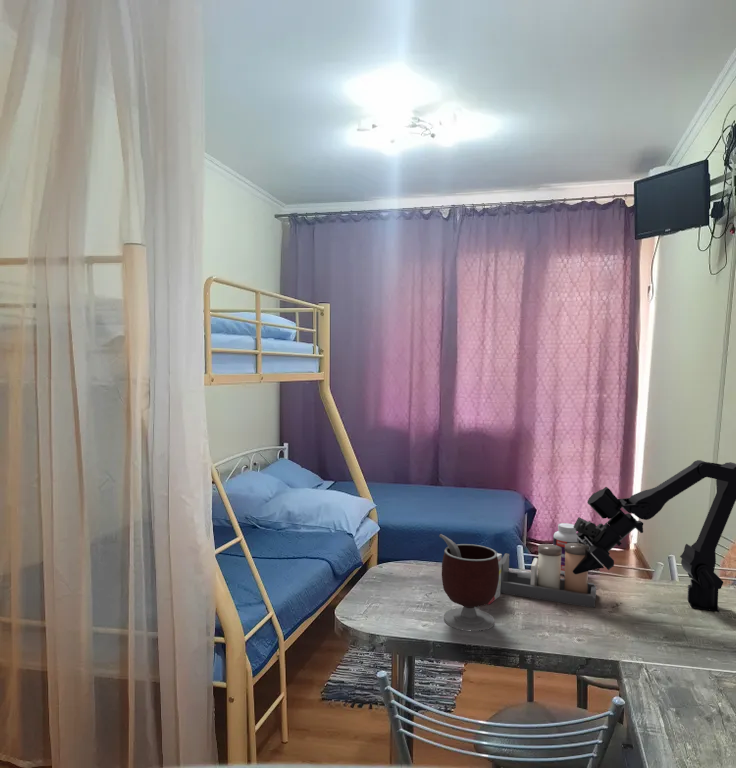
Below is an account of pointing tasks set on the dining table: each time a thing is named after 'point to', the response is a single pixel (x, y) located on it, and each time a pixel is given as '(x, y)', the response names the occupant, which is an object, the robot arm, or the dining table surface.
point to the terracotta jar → (572, 559)
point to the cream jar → (549, 566)
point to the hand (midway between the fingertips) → (571, 569)
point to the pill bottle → (564, 540)
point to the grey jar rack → (542, 588)
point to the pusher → (530, 573)
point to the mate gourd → (469, 583)
